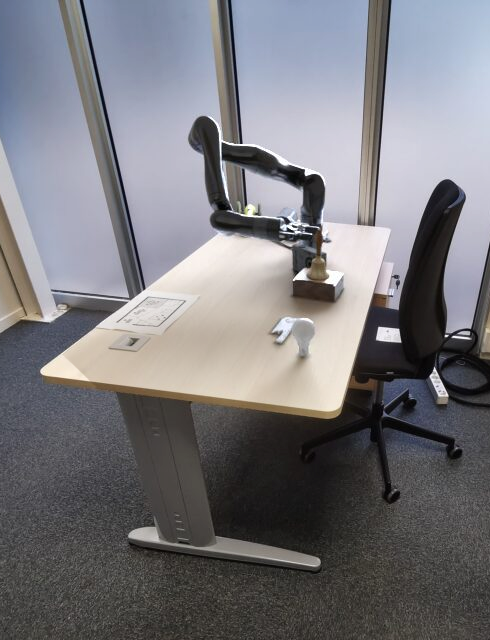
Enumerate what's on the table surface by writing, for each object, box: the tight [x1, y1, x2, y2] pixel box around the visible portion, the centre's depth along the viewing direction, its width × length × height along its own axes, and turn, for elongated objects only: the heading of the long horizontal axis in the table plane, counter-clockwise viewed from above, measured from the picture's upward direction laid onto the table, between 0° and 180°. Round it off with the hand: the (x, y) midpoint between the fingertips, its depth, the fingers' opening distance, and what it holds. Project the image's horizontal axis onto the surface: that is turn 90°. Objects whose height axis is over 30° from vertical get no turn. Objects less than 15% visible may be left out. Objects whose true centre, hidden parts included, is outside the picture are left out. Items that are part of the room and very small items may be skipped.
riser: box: [292, 268, 345, 303], centre depth 156 cm, size 15×13×6 cm
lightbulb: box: [290, 317, 316, 357], centre depth 118 cm, size 6×6×11 cm
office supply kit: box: [275, 206, 331, 243], centre depth 220 cm, size 40×28×9 cm
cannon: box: [236, 200, 263, 216], centre depth 217 cm, size 25×12×11 cm, turn 6°
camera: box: [291, 242, 328, 273], centre depth 170 cm, size 16×4×10 cm, turn 47°
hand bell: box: [306, 229, 330, 280], centre depth 150 cm, size 8×8×16 cm
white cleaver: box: [270, 316, 298, 344], centre depth 132 cm, size 5×15×1 cm, turn 168°
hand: (315, 234), depth 147 cm, fingers open, 8 cm apart
